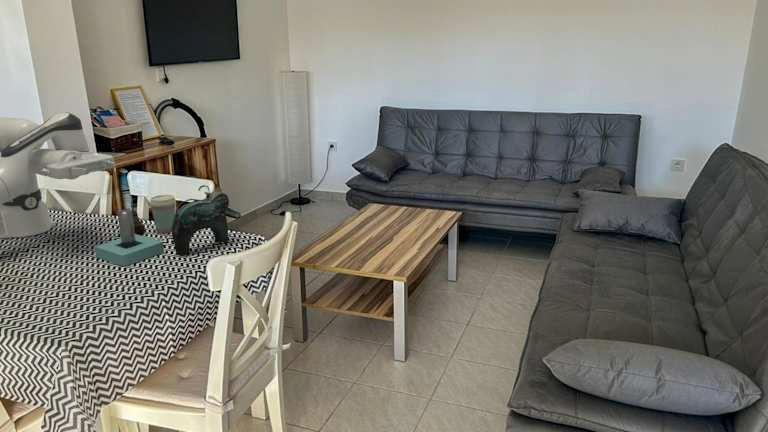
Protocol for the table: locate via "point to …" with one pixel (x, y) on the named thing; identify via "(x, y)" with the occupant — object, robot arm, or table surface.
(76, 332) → the table surface
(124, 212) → the steel pin
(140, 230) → the hand tool
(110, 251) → the socket block
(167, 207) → the coffee cup
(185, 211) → the ceramic cat
